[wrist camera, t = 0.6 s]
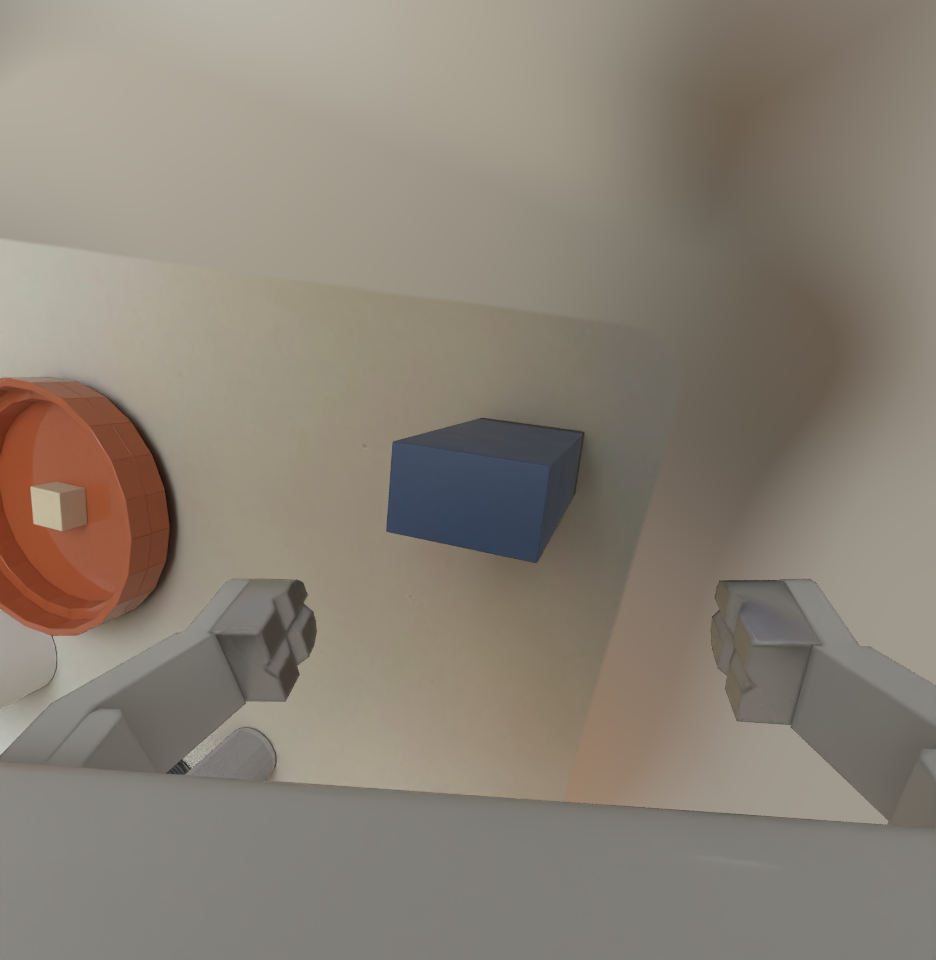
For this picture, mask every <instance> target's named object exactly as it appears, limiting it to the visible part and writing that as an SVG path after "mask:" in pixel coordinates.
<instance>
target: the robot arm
mask: <svg viewBox="0 0 936 960" xmlns="http://www.w3.org/2000/svg"><path fill="white" fill-rule="evenodd" d="M307 596H308V594H307V592H306V589H305V586H304V584H303V582H301V581H299V580H285V579H231V580H229V581H227V582H226V583H225V584H224V585H223V586H222V587H221V589H220V590H219V591H218V592H217V593H216V595H215V596H214V597H213V598H212V599H211V601H210V602H209V603H208V604H207V605H206V607H205V608H204V609H203V610H202V611H201V613H200V614H199V615H198V616H197V617H196V619H195V620H194V621H193V622H192V623H191V625H190V626H189V627H188V628H187V629H186V631H185V632H184V633H175V634H174V635H172V636H170V637H168V638H166V639H165V640H163V641H161V642H159V643H158V644H156V645H154V646H152V647H150V648H149V649H147V650H145V651H143V652H142V653H140V654H138V655H136V656H135V657H133V658H131V659H129V660H127V661H126V662H124V663H122V664H120V665H119V666H117V667H115V668H113V669H111V670H110V671H108V672H106V673H104V674H103V675H101V676H99V677H97V678H95V679H94V680H92V681H90V682H88V683H87V684H85V685H83V686H81V687H80V688H78V689H76V690H74V691H72V692H71V693H69V694H67V695H65V696H64V697H62V698H60V699H58V700H56V701H55V702H53V703H51V704H50V705H49V706H48V707H47V708H46V709H45V710H44V711H43V712H42V713H41V714H40V715H39V716H38V717H37V718H36V719H35V720H34V721H33V722H32V723H31V724H30V726H29V727H28V728H27V729H26V730H25V731H24V732H23V733H22V734H21V735H20V736H19V737H18V738H17V739H16V740H15V741H14V742H13V743H12V744H11V745H10V746H9V747H8V748H7V749H6V750H5V751H4V752H3V753H2V754H1V755H0V960H936V685H934V684H932V683H931V682H929V681H927V680H926V679H924V678H923V677H921V676H919V675H917V674H916V673H914V672H912V671H910V670H909V669H907V668H905V667H904V666H902V665H900V664H899V663H897V662H895V661H893V660H892V659H890V658H889V657H887V656H885V655H883V654H882V653H880V652H878V651H876V650H875V649H873V648H871V647H865V646H864V647H862V646H859V644H858V642H857V641H856V640H855V638H854V637H853V635H852V634H851V632H850V631H849V629H848V628H847V627H846V625H845V624H844V622H843V621H842V619H841V618H840V617H839V615H838V614H837V612H836V611H835V609H834V608H833V606H832V605H831V604H830V602H829V601H828V599H827V598H826V597H825V595H824V593H823V592H822V591H821V589H820V588H819V586H818V585H817V583H816V582H814V581H813V580H811V579H782V580H779V581H777V580H749V581H748V580H733V581H732V580H729V581H719V583H718V585H717V588H716V594H715V599H716V602H717V604H718V607H719V611H718V612H717V613H716V614H715V615H713V616H712V623H711V643H712V650H713V654H714V658H715V661H716V664H717V667H718V669H719V670H721V671H722V672H723V673H724V674H726V675H727V680H726V686H725V690H726V693H727V695H728V698H729V701H730V704H731V707H732V709H733V712H734V715H735V718H736V720H737V721H741V722H755V723H770V724H785V725H791V728H792V729H793V730H794V731H795V732H796V733H797V734H798V735H800V736H801V737H802V739H804V740H805V741H806V742H807V743H808V744H809V745H810V746H811V747H812V748H813V749H814V750H815V751H816V752H817V753H818V754H819V755H820V756H821V757H822V758H823V759H824V760H825V761H827V762H828V763H829V764H830V765H831V766H832V767H833V768H834V769H835V770H836V771H837V772H838V773H839V774H840V775H841V776H842V777H843V778H844V779H845V780H847V782H848V783H850V784H851V785H852V786H853V787H854V788H855V789H856V790H857V791H858V792H859V793H860V794H861V795H862V796H863V797H864V798H865V799H866V800H867V801H868V802H869V803H870V804H871V805H873V806H874V807H875V808H876V809H877V810H878V811H879V812H880V813H881V814H882V815H883V816H884V817H885V818H886V819H887V820H888V821H889V822H888V824H887V825H883V824H868V823H854V822H841V821H827V820H813V819H799V818H785V817H771V816H757V815H743V814H729V813H715V812H702V811H687V810H673V809H659V808H645V807H631V806H616V805H602V804H587V803H573V802H560V801H545V800H531V799H517V798H503V797H489V796H475V795H461V794H447V793H433V792H419V791H405V790H391V789H377V788H363V787H349V786H335V785H321V784H307V783H293V782H279V781H265V780H251V779H237V778H223V777H209V776H195V775H180V774H166V773H167V772H168V771H169V770H170V769H171V768H172V767H173V766H175V765H176V764H177V763H178V762H179V761H180V760H181V759H183V758H184V757H185V756H186V755H187V754H188V753H190V752H191V751H192V750H193V749H194V748H195V747H196V746H198V745H199V744H200V743H201V742H202V741H203V740H204V739H206V738H207V737H208V736H209V735H210V734H211V733H212V732H214V731H215V730H216V729H217V728H218V727H219V726H220V725H222V724H223V723H224V722H225V721H226V720H227V719H228V718H230V717H231V716H232V715H233V714H234V713H235V712H236V711H238V710H239V709H240V708H241V707H242V706H243V705H245V703H246V702H245V701H274V702H286V700H287V698H288V696H289V694H290V692H291V690H292V688H293V686H294V684H295V682H296V680H297V679H298V677H299V675H300V674H299V671H298V667H297V665H298V664H300V663H301V662H303V661H304V660H305V659H307V658H308V657H309V655H310V653H311V651H312V649H313V647H314V643H315V638H316V633H317V629H316V620H315V616H314V613H313V611H312V610H311V609H309V608H308V607H307V606H306V605H305V604H304V601H305V599H306V598H307Z"/></svg>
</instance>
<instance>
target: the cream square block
mask: <svg viewBox="0 0 936 960" xmlns="http://www.w3.org/2000/svg"><path fill="white" fill-rule="evenodd" d="M30 488H31V500H32V512H33V523H34V524H36V525H40V526H44V527H48V528H51V529H55V530H59V531H65V530H68V529H72V528H76V527H80V526H83V525H87V509H86V492H85V488H83V487H79V486H74V485H70V484H65V483H61V482H52V483H47V484H41V485H36V486H31V487H30Z"/></svg>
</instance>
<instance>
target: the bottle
mask: <svg viewBox="0 0 936 960" xmlns="http://www.w3.org/2000/svg"><path fill="white" fill-rule="evenodd" d="M275 763H276V761H275V753H274V750H273V747H272V745H271V744H270V742H269V741H268V739H267V738H266V737H265V736H263V735H262V734H261V733H260V732H258V731H256V730H255V729H251V728H240V729H238V730H236V731H234V732H233V733H232V734H231V735H230V736H229V737H227V738H226V739H225V740H224V741H223V742H222V743H221V744H219V745H218V746H217V747H216V748H215V749H214V750H213V751H211V752H210V753H209V754H208V755H207V756H206V757H205V758H203V759H202V760H201V761H200V762H199V763H198V764H197V765H195V766H194V767H193V768H192V769H191V770H190V771H189V772H187V773H186V774H185V775H195V776H209V777H223V778H237V779H251V780H265V779H266V778H267V777H268V776H269V775H270V774H271V772H272V771H273V770H274V766H275Z"/></svg>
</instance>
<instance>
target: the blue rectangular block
mask: <svg viewBox="0 0 936 960" xmlns="http://www.w3.org/2000/svg"><path fill="white" fill-rule="evenodd" d="M583 438H584V432H582V431H574V430H567V429H560V428H552V427H545V426H538V425H531V424H523V423H516V422H509V421H501V420H494V419H487V418H480V419H476V420H472V421H469V422H465V423H461V424H457V425H454V426H450V427H446V428H442V429H438V430H435V431H431V432H427V433H423V434H419V435H416V436H412V437H408V438H404V439H401V440H397V441H393V445H392V459H391V473H390V487H389V501H388V515H387V529H386V531H387V532H391V533H395V534H400V535H405V536H410V537H414V538H419V539H424V540H429V541H433V542H438V543H443V544H448V545H452V546H457V547H462V548H467V549H471V550H476V551H481V552H486V553H491V554H495V555H500V556H505V557H510V558H514V559H519V560H524V561H529V562H533V563H537V562H538V560H539V558H540V556H541V554H542V553H543V551H544V549H545V547H546V545H547V544H548V542H549V540H550V538H551V536H552V534H553V533H554V531H555V529H556V527H557V525H558V523H559V522H560V520H561V518H562V516H563V514H564V512H565V511H566V509H567V507H568V505H569V503H570V501H571V500H572V498H573V496H574V494H575V490H576V484H577V477H578V471H579V464H580V458H581V451H582V445H583Z"/></svg>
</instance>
